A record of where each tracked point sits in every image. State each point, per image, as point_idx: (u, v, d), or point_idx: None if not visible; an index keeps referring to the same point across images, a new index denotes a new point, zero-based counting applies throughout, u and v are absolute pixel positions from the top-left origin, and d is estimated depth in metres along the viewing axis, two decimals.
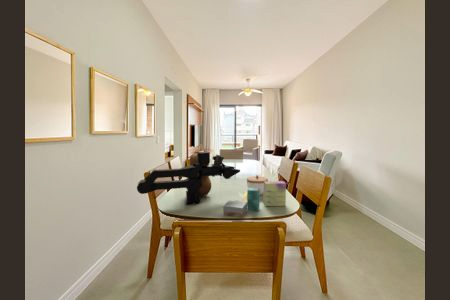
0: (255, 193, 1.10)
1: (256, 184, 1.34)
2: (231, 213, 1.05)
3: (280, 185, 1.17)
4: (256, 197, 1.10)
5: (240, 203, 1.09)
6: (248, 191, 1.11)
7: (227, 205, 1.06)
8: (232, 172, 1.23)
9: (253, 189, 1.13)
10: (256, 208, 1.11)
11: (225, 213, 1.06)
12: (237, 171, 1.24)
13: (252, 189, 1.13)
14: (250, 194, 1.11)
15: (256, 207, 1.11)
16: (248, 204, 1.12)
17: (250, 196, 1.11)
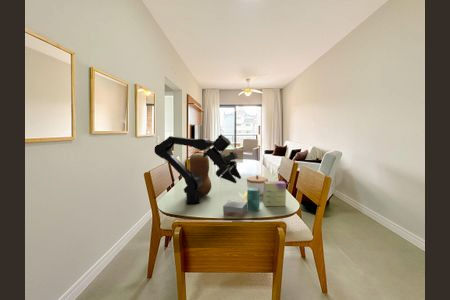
0: (255, 193, 1.10)
1: (256, 184, 1.34)
2: (231, 213, 1.05)
3: (280, 185, 1.17)
4: (256, 197, 1.10)
5: (239, 203, 1.09)
6: (248, 191, 1.11)
7: (227, 205, 1.06)
8: (227, 176, 1.11)
9: (253, 189, 1.13)
10: (256, 208, 1.11)
11: (225, 213, 1.06)
12: (232, 180, 1.11)
13: (252, 189, 1.13)
14: (250, 194, 1.11)
15: (256, 207, 1.11)
16: (248, 204, 1.12)
17: (250, 196, 1.11)
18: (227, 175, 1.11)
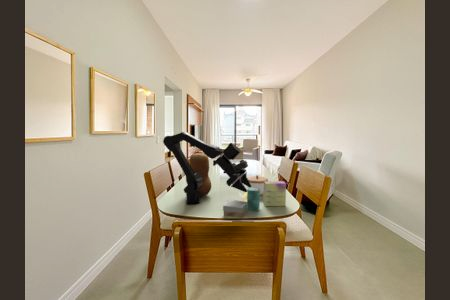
0: (255, 193, 1.10)
1: (256, 184, 1.34)
2: (231, 213, 1.05)
3: (280, 185, 1.17)
4: (256, 197, 1.10)
5: (240, 203, 1.09)
6: (248, 191, 1.11)
7: (227, 205, 1.06)
8: (238, 185, 1.09)
9: (253, 189, 1.13)
10: (256, 208, 1.11)
11: (225, 213, 1.06)
12: (243, 189, 1.09)
13: (252, 189, 1.13)
14: (250, 194, 1.11)
15: (256, 207, 1.11)
16: (248, 204, 1.12)
17: (250, 196, 1.11)
18: (238, 184, 1.09)
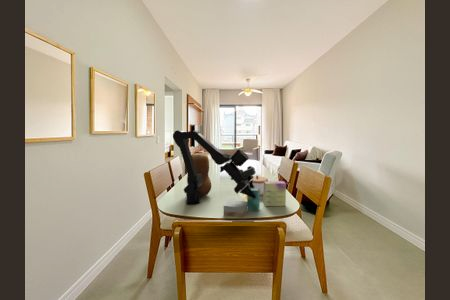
0: (255, 193, 1.10)
1: (256, 184, 1.34)
2: (231, 213, 1.05)
3: (280, 185, 1.17)
4: (256, 197, 1.10)
5: (240, 203, 1.09)
6: None
7: (228, 205, 1.06)
8: (247, 191, 1.10)
9: (253, 189, 1.13)
10: (256, 208, 1.11)
11: (225, 213, 1.06)
12: (252, 195, 1.10)
13: (252, 189, 1.13)
14: None
15: (256, 207, 1.11)
16: (248, 204, 1.12)
17: None
18: (246, 190, 1.10)
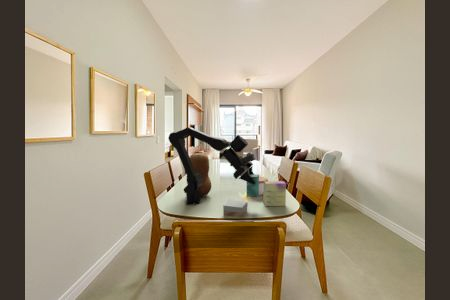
0: (254, 179, 1.10)
1: None
2: (231, 213, 1.05)
3: (280, 185, 1.17)
4: (255, 183, 1.10)
5: (240, 203, 1.09)
6: None
7: (227, 205, 1.06)
8: (246, 177, 1.09)
9: (253, 175, 1.12)
10: (256, 194, 1.10)
11: (225, 213, 1.06)
12: (251, 181, 1.09)
13: (251, 175, 1.12)
14: None
15: (255, 193, 1.10)
16: (247, 190, 1.11)
17: None
18: (246, 176, 1.09)
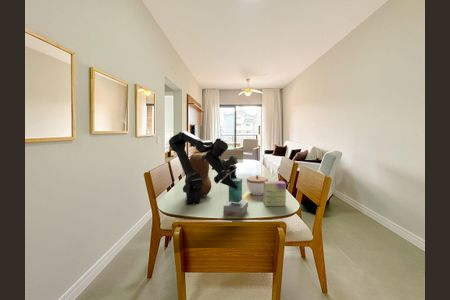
0: (237, 183, 1.05)
1: (256, 184, 1.34)
2: (231, 213, 1.05)
3: (280, 185, 1.17)
4: (238, 188, 1.05)
5: (240, 203, 1.09)
6: None
7: (227, 205, 1.06)
8: (228, 181, 1.05)
9: (235, 179, 1.07)
10: (238, 199, 1.06)
11: (225, 213, 1.06)
12: (233, 186, 1.05)
13: (234, 179, 1.07)
14: None
15: (238, 198, 1.06)
16: (229, 195, 1.07)
17: (231, 187, 1.06)
18: (227, 180, 1.05)
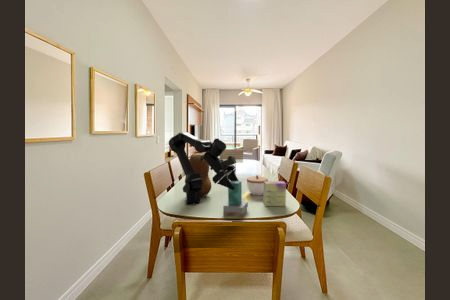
0: (236, 186, 1.06)
1: (256, 184, 1.34)
2: (231, 213, 1.05)
3: (280, 185, 1.17)
4: (237, 190, 1.06)
5: (240, 203, 1.09)
6: None
7: (227, 205, 1.06)
8: (225, 182, 1.03)
9: (235, 182, 1.08)
10: (237, 202, 1.06)
11: (225, 213, 1.06)
12: (230, 187, 1.03)
13: (233, 182, 1.08)
14: None
15: (237, 201, 1.06)
16: (229, 198, 1.07)
17: (230, 189, 1.07)
18: (225, 181, 1.03)
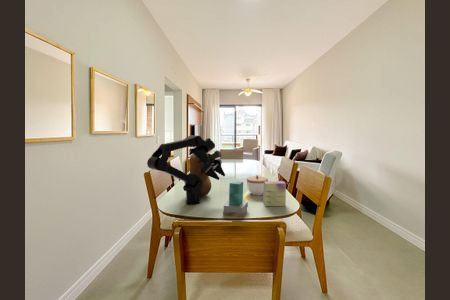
0: (237, 186, 1.05)
1: (256, 184, 1.34)
2: (231, 213, 1.05)
3: (280, 185, 1.17)
4: (238, 191, 1.05)
5: None
6: (230, 184, 1.06)
7: (228, 205, 1.06)
8: (211, 173, 1.18)
9: (236, 182, 1.07)
10: (238, 202, 1.06)
11: (225, 213, 1.06)
12: (216, 177, 1.18)
13: (235, 182, 1.07)
14: (232, 187, 1.06)
15: (238, 201, 1.06)
16: (230, 198, 1.07)
17: (232, 189, 1.06)
18: (211, 172, 1.18)
